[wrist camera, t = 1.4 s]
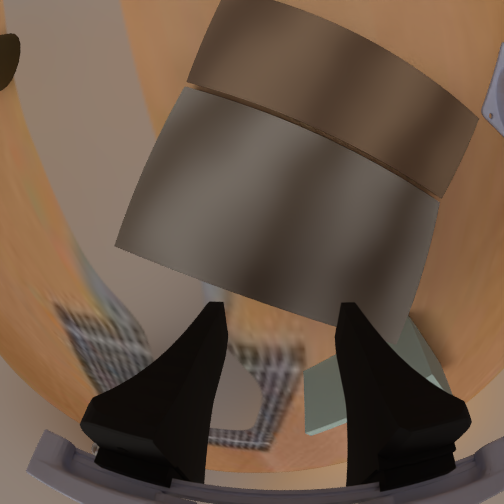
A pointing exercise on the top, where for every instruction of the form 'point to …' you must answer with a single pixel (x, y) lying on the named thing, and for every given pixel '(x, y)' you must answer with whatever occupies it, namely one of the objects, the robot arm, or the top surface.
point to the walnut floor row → (336, 86)
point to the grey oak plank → (279, 215)
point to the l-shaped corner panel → (330, 386)
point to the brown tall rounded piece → (8, 58)
